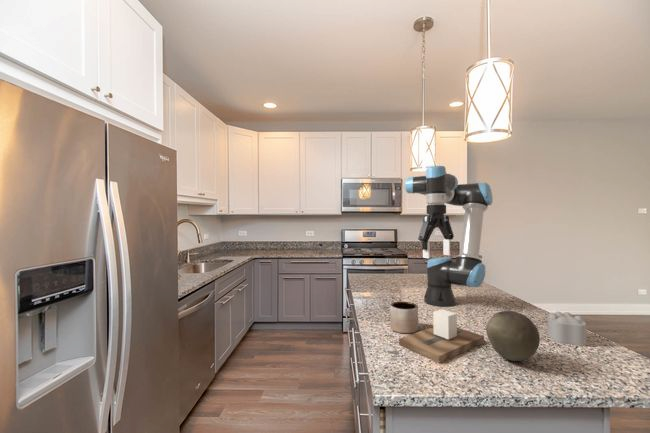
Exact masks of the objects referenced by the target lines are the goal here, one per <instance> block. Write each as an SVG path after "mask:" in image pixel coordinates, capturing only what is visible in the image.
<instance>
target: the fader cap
mask: <svg viewBox="0 0 650 433" xmlns="http://www.w3.org/2000/svg"><path fill="white" fill-rule="evenodd" d="M432 314H433V316H432V318H433V320H432V322H433V323H432V324H433V326H432V327H433V329H434V334H435V335H438V336H440V337H443V338H446V339H448V340H449V339H451V338H454V337H456V336H457V328H458V321H457V319H458V316H457V315H458V314H457V313H456V312H452V311H449V310H447V309H438V310H434V311H433V313H432Z"/></svg>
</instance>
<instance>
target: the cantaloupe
mask: <svg viewBox="0 0 650 433" xmlns="http://www.w3.org/2000/svg"><path fill="white" fill-rule="evenodd" d="M486 335H487V340H488V341H489V343H490V345H491V347H492V348H493V350H494V352H496V353H497V354H498V355H499V356H500V357H502V358H504V359H506V360H508V361H510V362H511V361H512V362H519V361H520V362H521V361H526V360H528V359H531V357H532V358H533V356H534V355H535V354H536V353H537V351H538V348H539V347H540V343H541V341H540V338H541V336H540V332H539V329H538V327H537V326H536V324H535V323H534V322H533V321H532V319H530V318H529V317H528V316H527V315H524V314H523V313H521V312H517V311H512V310H502V311H498V312H495V314H493V315H492V316H491V317H490V319H489V320H488V321H487V323H486Z"/></svg>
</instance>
